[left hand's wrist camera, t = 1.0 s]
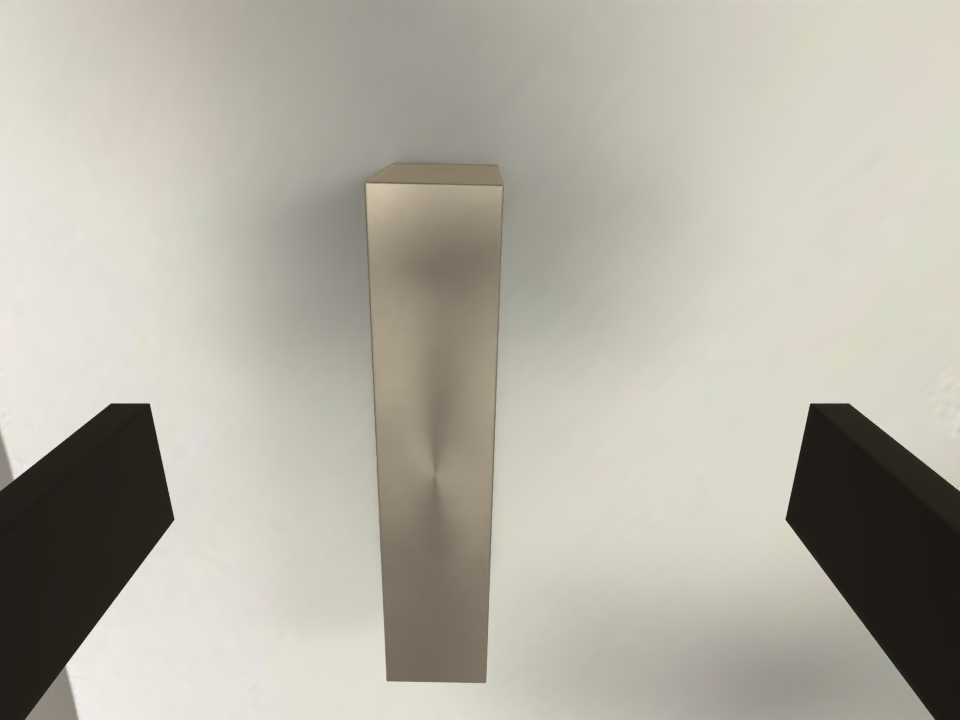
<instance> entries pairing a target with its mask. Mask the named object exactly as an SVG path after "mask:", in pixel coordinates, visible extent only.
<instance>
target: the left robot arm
mask: <svg viewBox="0 0 960 720" xmlns="http://www.w3.org/2000/svg"><path fill="white" fill-rule="evenodd" d="M173 521H174V515H173V511H172V506H171V501H170V497H169V492H168V487H167V482H166V478H165V473H164V468H163V464H162V459H161V454H160V450H159V445H158V440H157V435H156V431H155V426H154V421H153V417H152V412H151V407H150V404H110V405H109V406H107V407H106V408H105V409H104V410H102V411H101V412H100V413H99V414H97V415H96V416H95V417H94V418H92V419H91V420H90V421H88V422H87V423H86V424H85V425H83V426H82V427H81V428H80V429H78V430H77V431H76V432H75V433H73V434H72V435H71V436H70V437H68V438H67V439H66V440H65V441H63V442H62V443H61V444H59V445H58V446H57V447H56V448H54V449H53V450H52V451H51V452H49V453H48V454H47V455H46V456H44V457H43V458H42V459H41V460H39V461H38V462H37V463H35V464H34V465H33V466H32V467H30V468H29V469H28V470H27V471H25V472H24V473H23V474H22V475H20V476H19V477H18V478H17V479H15V480H14V481H13V482H12V483H10V484H9V485H8V486H6V487H5V488H4V489H3V490H1V491H0V720H25V719H26V717H27V716H28V715H29V713H30V712H31V711H32V709H33V708H34V707H35V705H36V704H37V703H38V701H39V700H40V699H41V697H42V696H43V695H44V693H45V692H46V691H47V689H48V688H49V687H50V685H51V684H52V683H53V681H54V680H55V679H56V677H57V676H58V675H59V673H60V672H61V671H62V669H63V668H64V667H65V665H66V664H67V663H68V661H69V660H70V659H71V657H72V656H73V655H74V653H75V652H76V651H77V649H78V648H79V647H80V645H81V644H82V643H83V641H84V640H85V639H86V637H87V636H88V635H89V633H90V632H91V631H92V629H93V628H94V627H95V625H96V624H97V623H98V621H99V620H100V619H101V617H102V616H103V614H104V613H105V612H106V610H107V609H108V608H109V606H110V605H111V604H112V602H113V601H114V600H115V598H116V597H117V596H118V594H119V593H120V592H121V590H122V589H123V588H124V586H125V585H126V584H127V582H128V581H129V580H130V578H131V577H132V576H133V574H134V573H135V572H136V570H137V569H138V568H139V566H140V565H141V564H142V562H143V561H144V560H145V558H146V557H147V556H148V554H149V553H150V552H151V550H152V549H153V548H154V546H155V545H156V544H157V542H158V541H159V540H160V538H161V537H162V536H163V534H164V533H165V532H166V530H167V529H168V528H169V526H170V525H171V524H172V522H173ZM786 521H787V522H788V524H789V525H790V526H791V528H792V529H793V530H794V532H795V533H796V534H797V536H798V537H799V538H800V540H801V541H802V542H803V544H804V545H805V546H806V548H807V549H808V550H809V552H810V553H811V554H812V556H813V557H814V558H815V560H816V561H817V562H818V564H819V565H820V566H821V568H822V569H823V570H824V572H825V573H826V574H827V576H828V577H829V578H830V580H831V581H832V582H833V584H834V585H835V586H836V588H837V589H838V590H839V592H840V593H841V594H842V596H843V597H844V598H845V600H846V601H847V602H848V604H849V605H850V606H851V608H852V609H853V610H854V612H855V613H856V615H857V616H858V617H859V619H860V620H861V621H862V623H863V624H864V625H865V627H866V628H867V629H868V631H869V632H870V633H871V635H872V636H873V637H874V639H875V640H876V641H877V643H878V644H879V645H880V647H881V648H882V649H883V651H884V652H885V653H886V655H887V656H888V657H889V659H890V660H891V661H892V663H893V664H894V665H895V667H896V668H897V669H898V671H899V672H900V673H901V675H902V676H903V677H904V679H905V680H906V681H907V683H908V684H909V685H910V687H911V688H912V689H913V691H914V692H915V693H916V695H917V696H918V697H919V699H920V700H921V701H922V703H923V704H924V705H925V707H926V708H927V709H928V711H929V712H930V713H931V715H932V716H933V717H934V719H935V720H960V491H959V490H957V489H956V488H955V487H954V486H952V485H951V484H950V483H948V482H947V481H946V480H945V479H943V478H942V477H941V476H940V475H938V474H937V473H936V472H935V471H933V470H932V469H931V468H930V467H928V466H927V465H926V464H925V463H923V462H922V461H921V460H919V459H918V458H917V457H916V456H914V455H913V454H912V453H911V452H909V451H908V450H907V449H906V448H904V447H903V446H902V445H901V444H899V443H898V442H897V441H895V440H894V439H893V438H892V437H890V436H889V435H888V434H887V433H885V432H884V431H883V430H882V429H880V428H879V427H878V426H877V425H875V424H874V423H873V422H872V421H870V420H869V419H868V418H866V417H865V416H864V415H863V414H861V413H860V412H859V411H858V410H856V409H855V408H854V407H853V406H851V405H850V404H810V407H809V412H808V417H807V421H806V426H805V431H804V435H803V440H802V445H801V450H800V454H799V459H798V464H797V468H796V473H795V478H794V482H793V487H792V492H791V497H790V501H789V506H788V511H787V515H786Z"/></svg>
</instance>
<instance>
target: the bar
mask: <svg viewBox="0 0 960 720" xmlns="http://www.w3.org/2000/svg"><path fill="white" fill-rule="evenodd" d="M364 187H365V209H366V231H367V254H368V276H369V298H370V321H371V343H372V365H373V388H374V410H375V432H376V455H377V477H378V499H379V522H380V544H381V566H382V589H383V611H384V633H385V656H386V678H387V681H404V682H459V683H486V673H487V644H488V616H489V587H490V559H491V530H492V501H493V473H494V444H495V416H496V387H497V359H498V330H499V302H500V273H501V245H502V216H503V183H502V179H501V176H500V172H499V168H498V166H497V165H464V164H422V163H394V164H392V165H391V166H389V167H387V168H386V169H384V170H383V171H381V172H380V173H378V174H377V175H375V176H373V177H372V178H370V179H369V180H367V181H366V182H365V183H364Z"/></svg>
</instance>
